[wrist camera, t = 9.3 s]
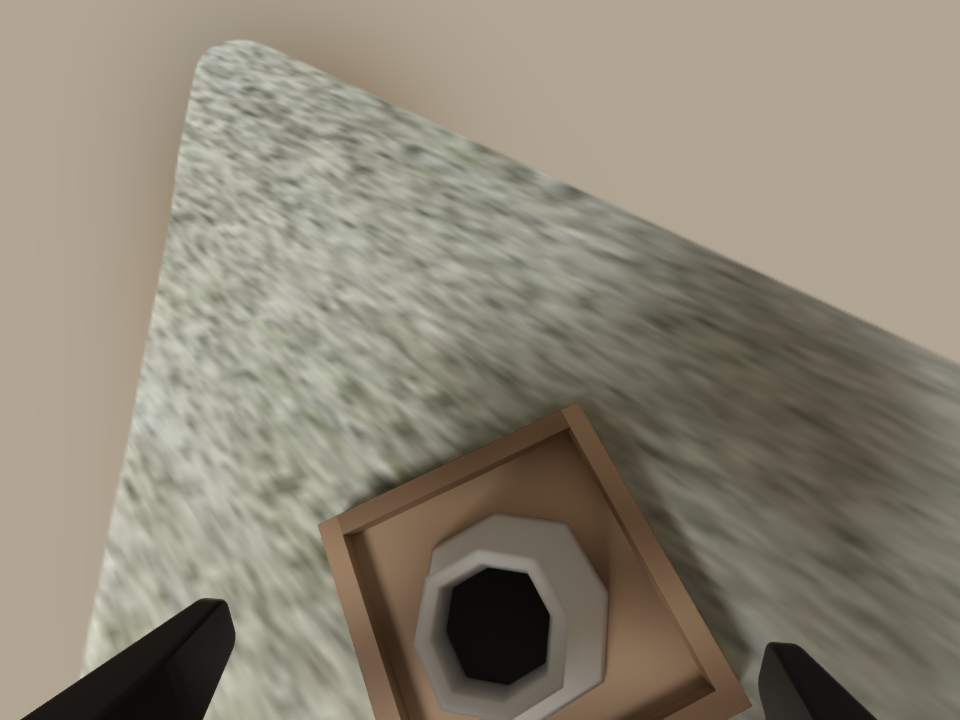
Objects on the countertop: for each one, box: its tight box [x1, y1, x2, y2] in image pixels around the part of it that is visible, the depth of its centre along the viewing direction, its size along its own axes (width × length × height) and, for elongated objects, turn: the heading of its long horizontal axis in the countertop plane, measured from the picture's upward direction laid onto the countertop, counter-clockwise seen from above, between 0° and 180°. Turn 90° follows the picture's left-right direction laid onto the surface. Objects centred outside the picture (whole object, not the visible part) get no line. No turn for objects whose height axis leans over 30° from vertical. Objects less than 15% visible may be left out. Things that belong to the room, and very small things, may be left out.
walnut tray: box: [318, 402, 752, 720], centre depth 19 cm, size 12×12×2 cm
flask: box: [414, 512, 609, 720], centre depth 15 cm, size 7×7×10 cm
